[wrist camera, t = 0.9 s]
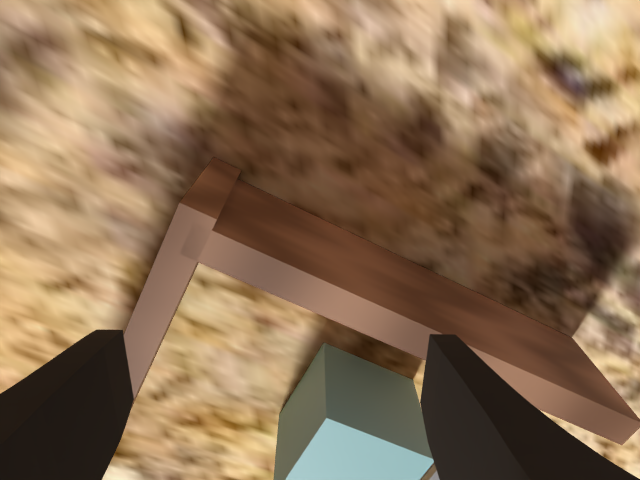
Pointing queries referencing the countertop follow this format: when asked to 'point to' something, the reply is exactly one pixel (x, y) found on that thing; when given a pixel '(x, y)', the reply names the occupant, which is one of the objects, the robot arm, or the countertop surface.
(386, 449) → the light blue cube
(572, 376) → the walnut screen
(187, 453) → the countertop surface
